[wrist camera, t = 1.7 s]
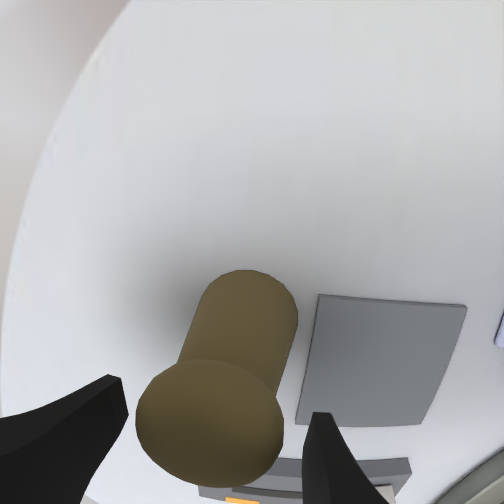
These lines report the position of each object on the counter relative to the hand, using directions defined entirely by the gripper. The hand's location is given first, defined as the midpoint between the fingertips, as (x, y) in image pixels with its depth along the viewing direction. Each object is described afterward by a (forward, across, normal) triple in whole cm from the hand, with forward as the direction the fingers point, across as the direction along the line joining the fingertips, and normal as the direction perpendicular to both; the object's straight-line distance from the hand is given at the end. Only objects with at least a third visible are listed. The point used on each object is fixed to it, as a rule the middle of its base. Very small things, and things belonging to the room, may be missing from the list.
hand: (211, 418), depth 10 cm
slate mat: (+9, -9, +3) cm, 13 cm away
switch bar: (+9, -6, +16) cm, 19 cm away
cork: (+9, 0, 0) cm, 9 cm away
